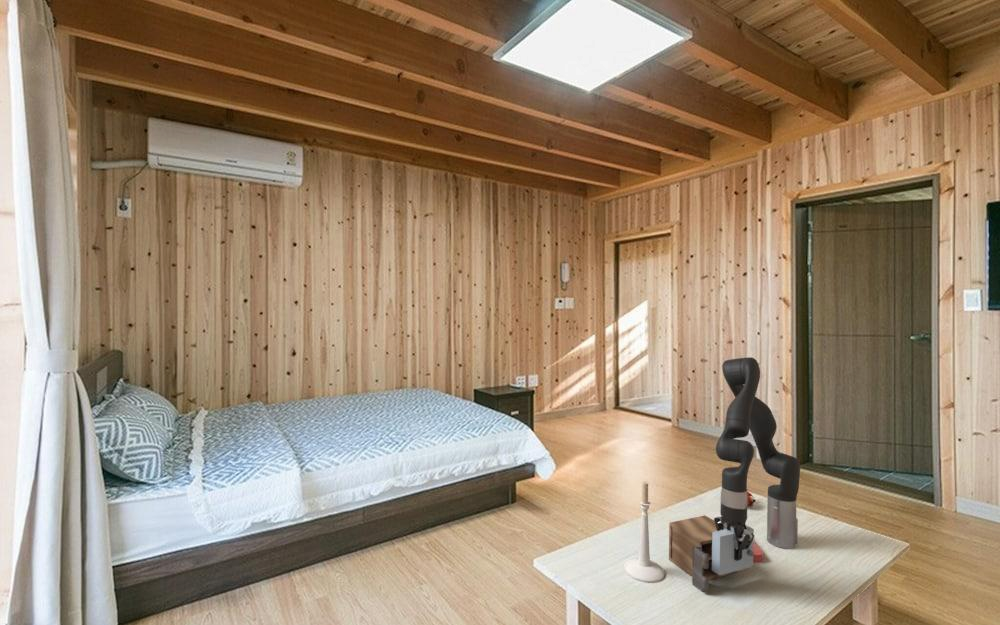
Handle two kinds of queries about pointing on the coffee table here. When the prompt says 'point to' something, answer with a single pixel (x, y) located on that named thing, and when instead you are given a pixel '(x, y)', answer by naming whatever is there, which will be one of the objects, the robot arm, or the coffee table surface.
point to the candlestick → (644, 550)
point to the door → (729, 553)
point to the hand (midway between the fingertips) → (732, 556)
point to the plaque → (757, 554)
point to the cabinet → (693, 549)
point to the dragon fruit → (750, 500)
